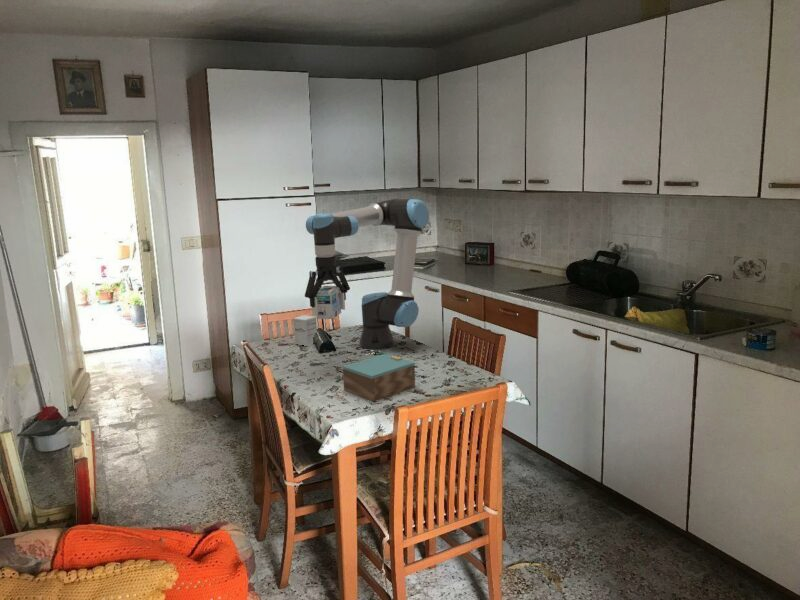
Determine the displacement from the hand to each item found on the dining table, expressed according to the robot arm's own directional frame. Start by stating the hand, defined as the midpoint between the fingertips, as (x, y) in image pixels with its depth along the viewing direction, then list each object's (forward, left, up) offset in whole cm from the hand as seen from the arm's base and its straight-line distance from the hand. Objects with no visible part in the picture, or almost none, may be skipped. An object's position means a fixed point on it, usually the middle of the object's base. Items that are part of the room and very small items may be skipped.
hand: (329, 312), depth 245 cm
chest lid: (-2, +26, -17) cm, 31 cm away
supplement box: (-17, -43, -25) cm, 52 cm away
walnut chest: (-2, +26, -25) cm, 36 cm away
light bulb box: (0, 0, -2) cm, 2 cm away
